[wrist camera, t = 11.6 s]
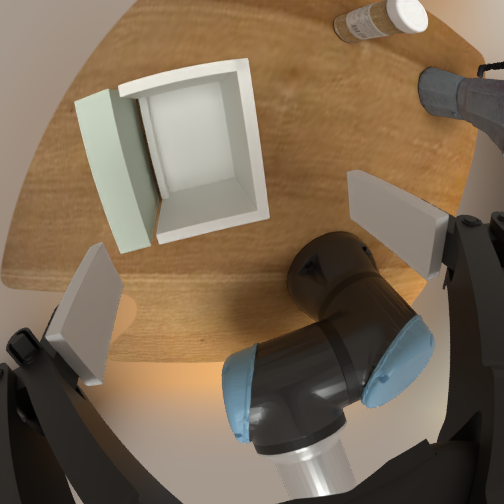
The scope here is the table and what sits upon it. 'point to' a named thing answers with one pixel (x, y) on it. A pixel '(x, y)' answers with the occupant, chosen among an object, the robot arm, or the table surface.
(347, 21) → the sprinkles bottle
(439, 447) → the robot arm
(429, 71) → the moka pot
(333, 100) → the table surface
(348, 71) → the table surface
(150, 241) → the door
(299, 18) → the table surface
